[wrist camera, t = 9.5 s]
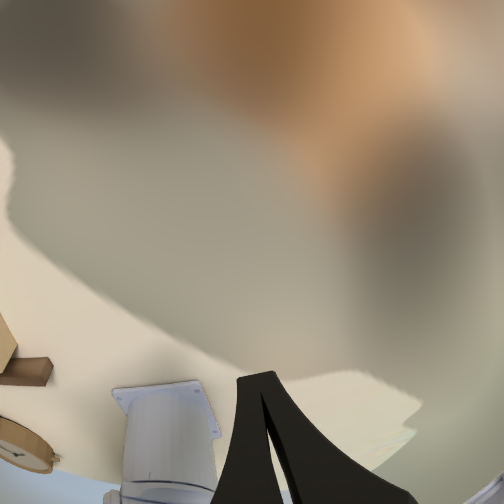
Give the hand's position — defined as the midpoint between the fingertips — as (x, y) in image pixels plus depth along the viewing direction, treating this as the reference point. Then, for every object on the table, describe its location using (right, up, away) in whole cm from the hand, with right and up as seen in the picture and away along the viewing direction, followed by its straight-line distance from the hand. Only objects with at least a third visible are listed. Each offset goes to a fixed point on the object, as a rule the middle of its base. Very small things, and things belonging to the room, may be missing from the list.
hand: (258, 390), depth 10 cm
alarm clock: (-33, -19, +13) cm, 40 cm away
